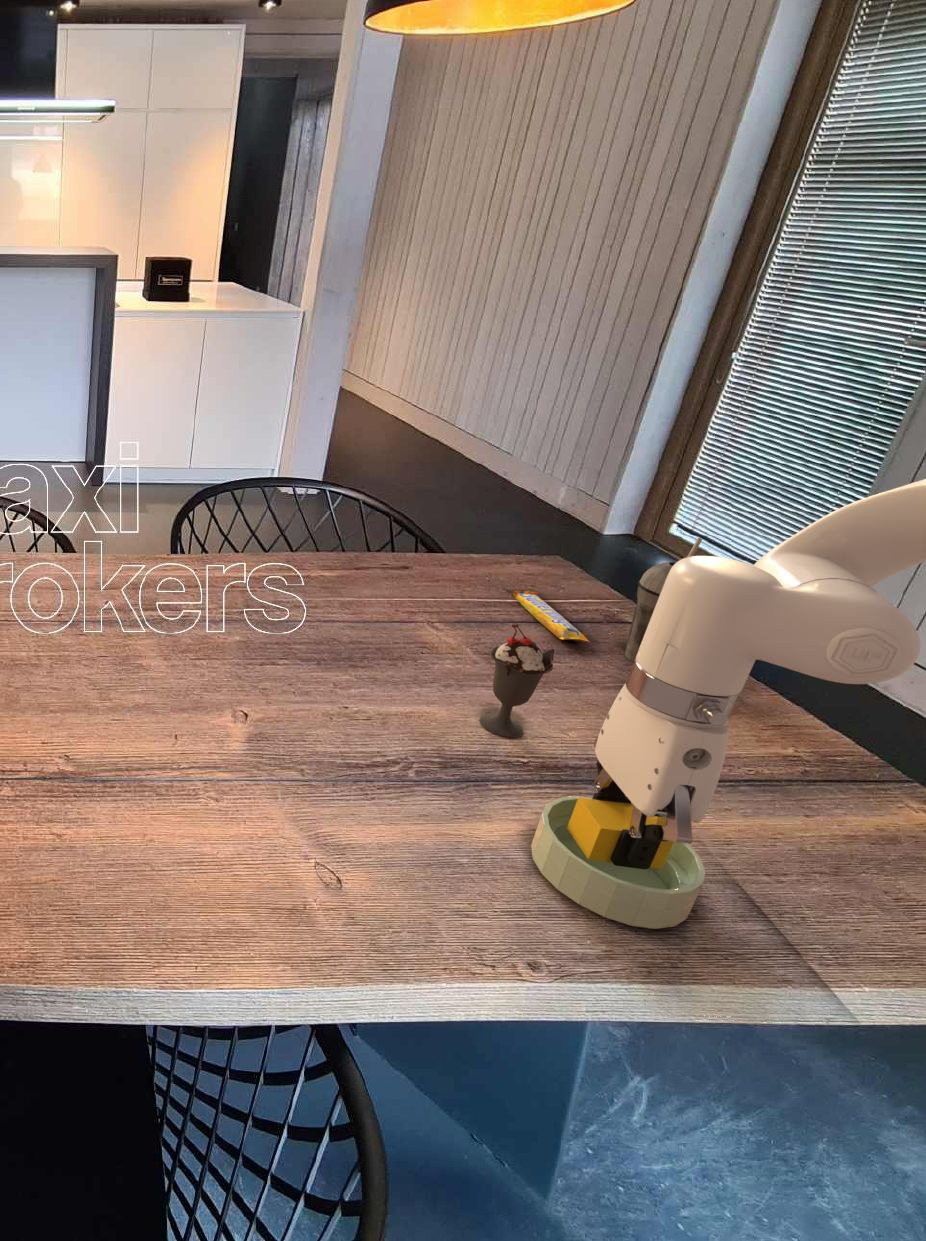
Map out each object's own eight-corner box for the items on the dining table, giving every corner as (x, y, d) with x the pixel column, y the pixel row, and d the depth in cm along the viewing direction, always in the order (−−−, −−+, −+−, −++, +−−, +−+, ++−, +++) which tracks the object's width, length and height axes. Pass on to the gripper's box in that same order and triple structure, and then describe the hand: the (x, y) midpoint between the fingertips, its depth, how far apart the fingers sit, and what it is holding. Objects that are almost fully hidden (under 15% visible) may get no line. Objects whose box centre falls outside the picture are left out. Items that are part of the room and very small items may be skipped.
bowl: (640, 841, 87) (655, 804, 85) (719, 942, 75) (738, 902, 73) (508, 825, 89) (520, 789, 87) (565, 922, 77) (581, 882, 75)
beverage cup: (621, 641, 126) (664, 522, 119) (679, 660, 121) (728, 537, 113) (607, 657, 122) (650, 534, 114) (666, 677, 117) (716, 550, 109)
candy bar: (508, 597, 140) (511, 587, 139) (534, 598, 140) (537, 589, 139) (561, 647, 125) (564, 636, 124) (590, 649, 124) (593, 638, 123)
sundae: (460, 719, 107) (488, 619, 101) (492, 706, 110) (521, 608, 104) (509, 747, 102) (542, 643, 96) (541, 733, 105) (575, 631, 99)
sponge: (636, 836, 82) (649, 805, 81) (661, 869, 78) (676, 837, 77) (566, 828, 83) (578, 797, 82) (588, 860, 79) (600, 828, 78)
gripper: (795, 754, 65) (711, 920, 73) (670, 647, 81) (611, 793, 88) (691, 742, 66) (618, 908, 74) (587, 639, 82) (535, 784, 89)
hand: (615, 844), depth 81 cm, fingers closed on sponge, 4 cm apart
